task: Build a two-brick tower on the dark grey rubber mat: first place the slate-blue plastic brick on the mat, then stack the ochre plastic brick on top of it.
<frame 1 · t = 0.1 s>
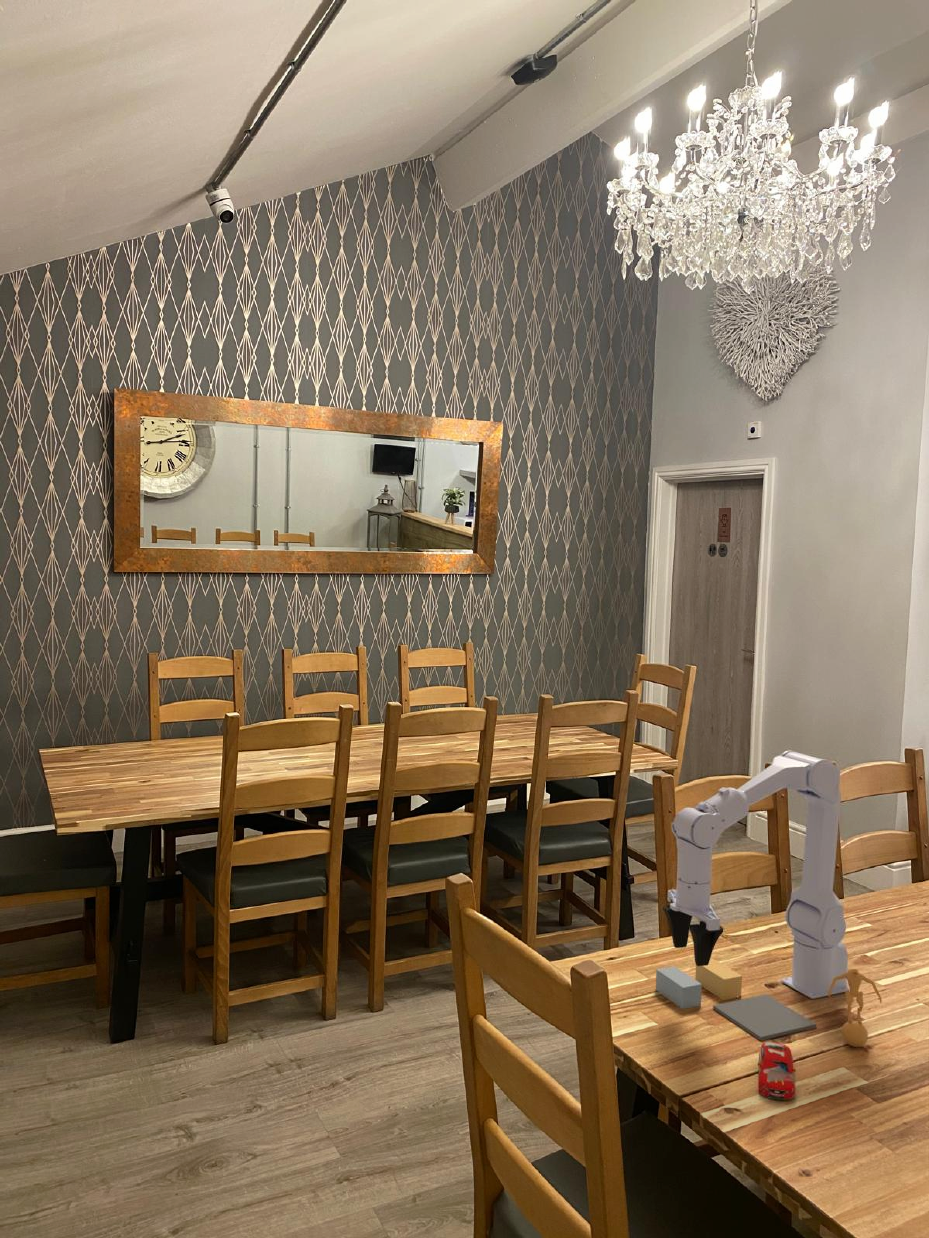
hand: (690, 955, 164), 10 cm above the table, tool pointing down, fingers open, 7 cm apart
figurine: (852, 1043, 156), on the table
race car: (775, 1081, 144), on the table
slate brick: (677, 998, 171), on the table
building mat: (763, 1017, 163), on the table
ochre brick: (717, 989, 174), on the table
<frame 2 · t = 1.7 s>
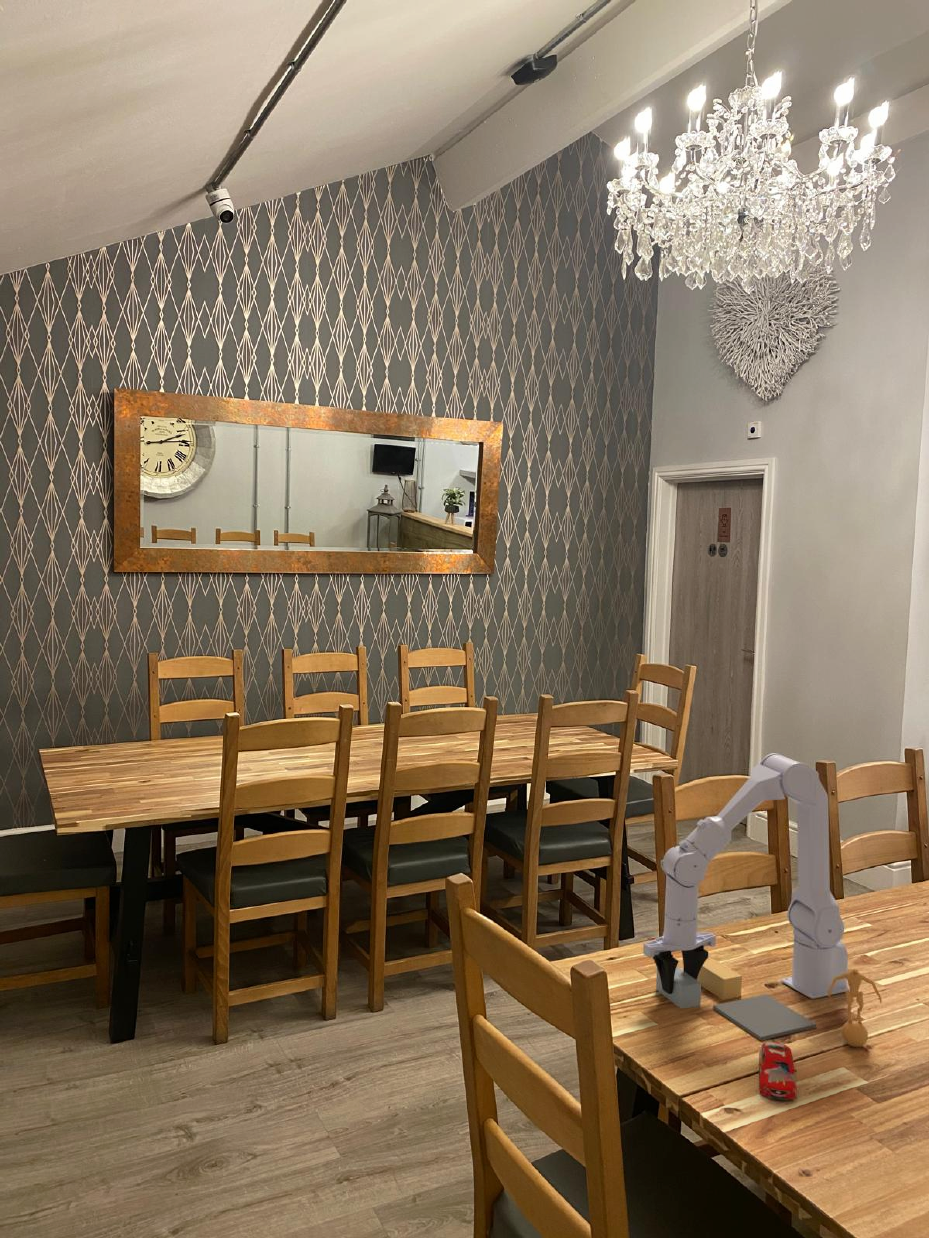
hand: (678, 989, 170), 1 cm above the table, tool pointing down, fingers closed on slate brick, 4 cm apart
slate brick: (677, 997, 170), on the table, touching gripper
everything else where it was.
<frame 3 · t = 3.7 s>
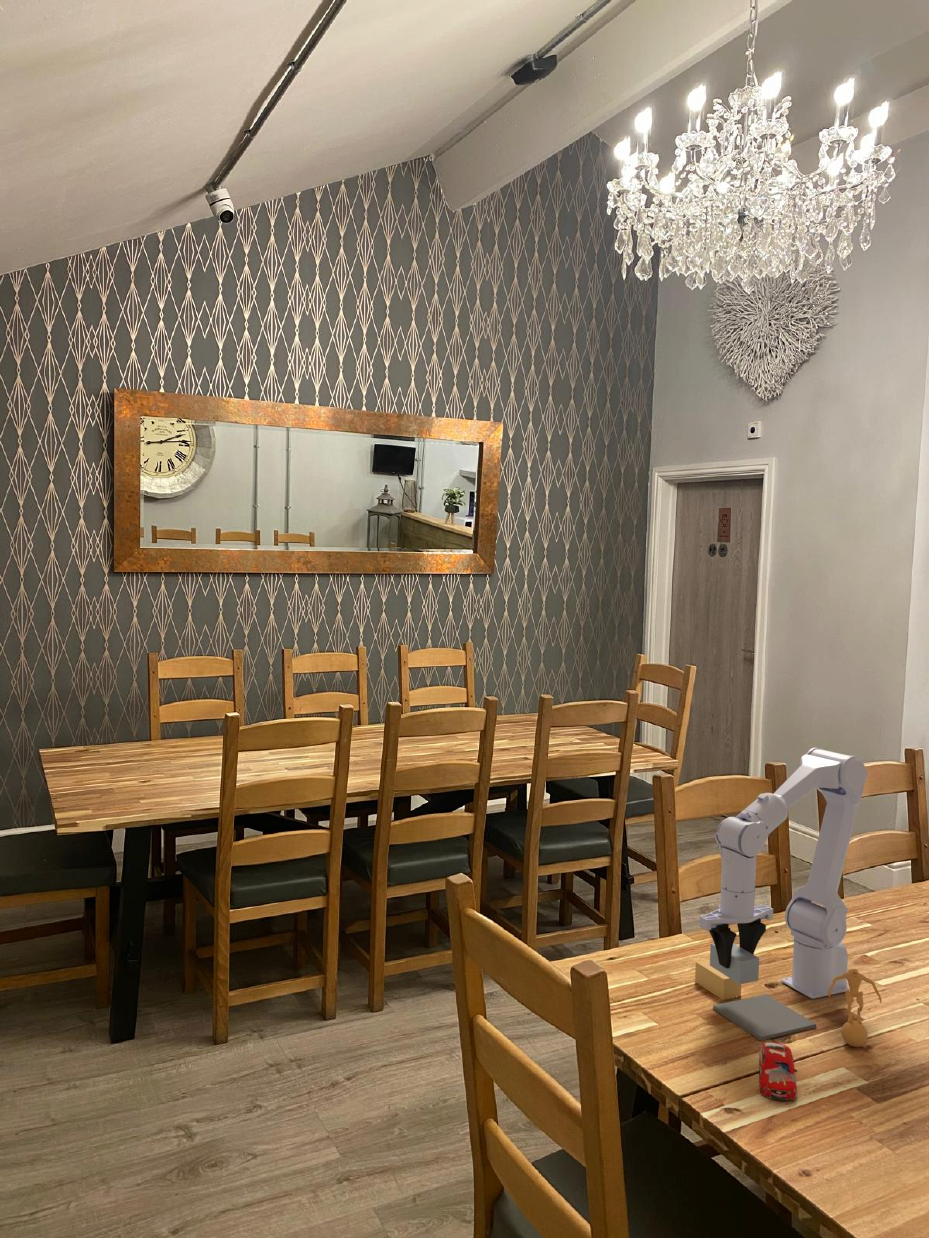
hand: (735, 963, 165), 8 cm above the table, tool pointing down, fingers closed on slate brick, 4 cm apart
slate brick: (733, 972, 166), point 7 cm above the table, touching gripper
everything else where it was.
when the fingers open (3 cm above the table, at t = 5.5 s): slate brick stays where it is, resting on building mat.
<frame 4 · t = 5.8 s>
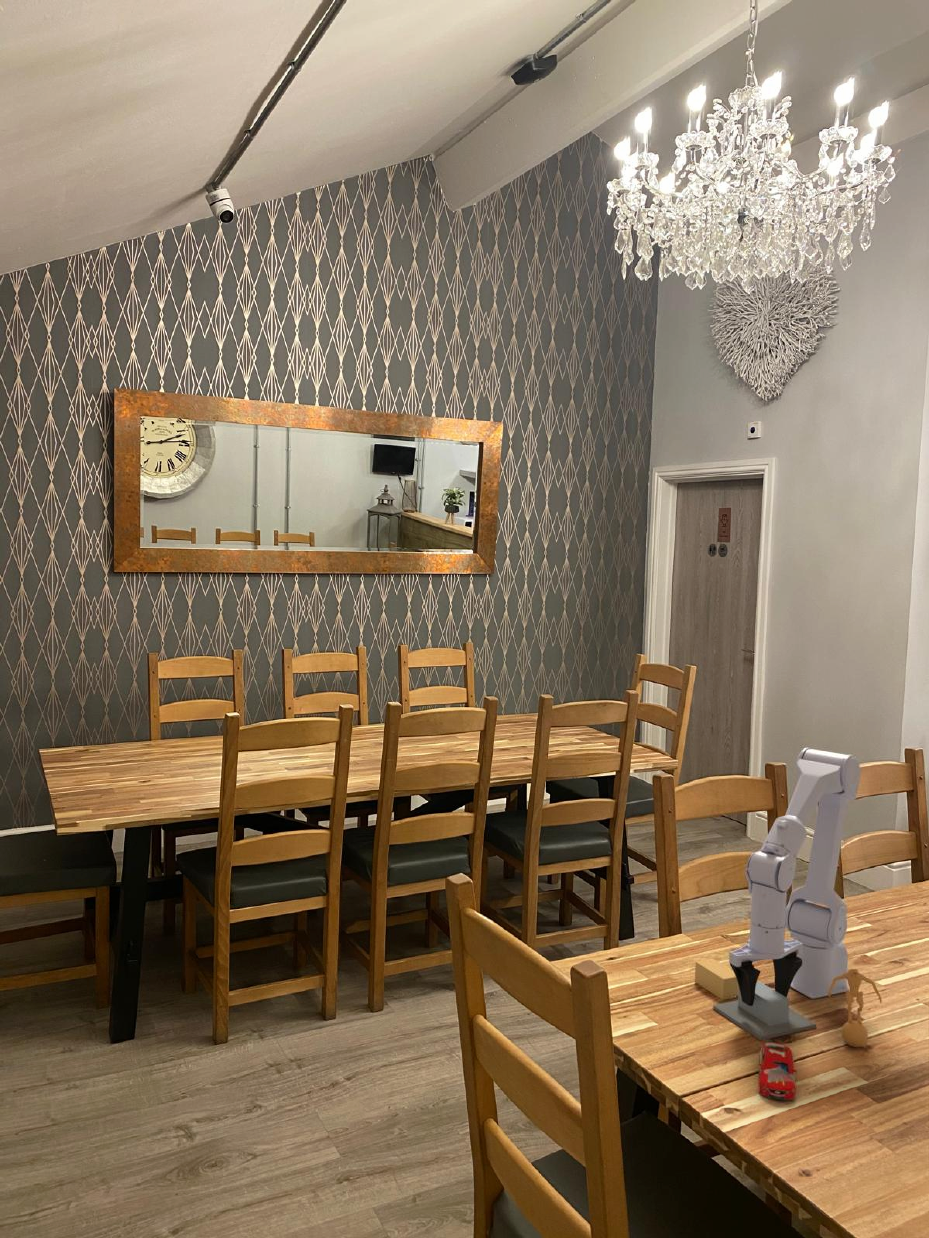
hand: (764, 999, 163), 3 cm above the table, tool pointing down, fingers open, 7 cm apart
slate brick: (762, 1013, 164), point 1 cm above the table, touching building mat
everything else where it was.
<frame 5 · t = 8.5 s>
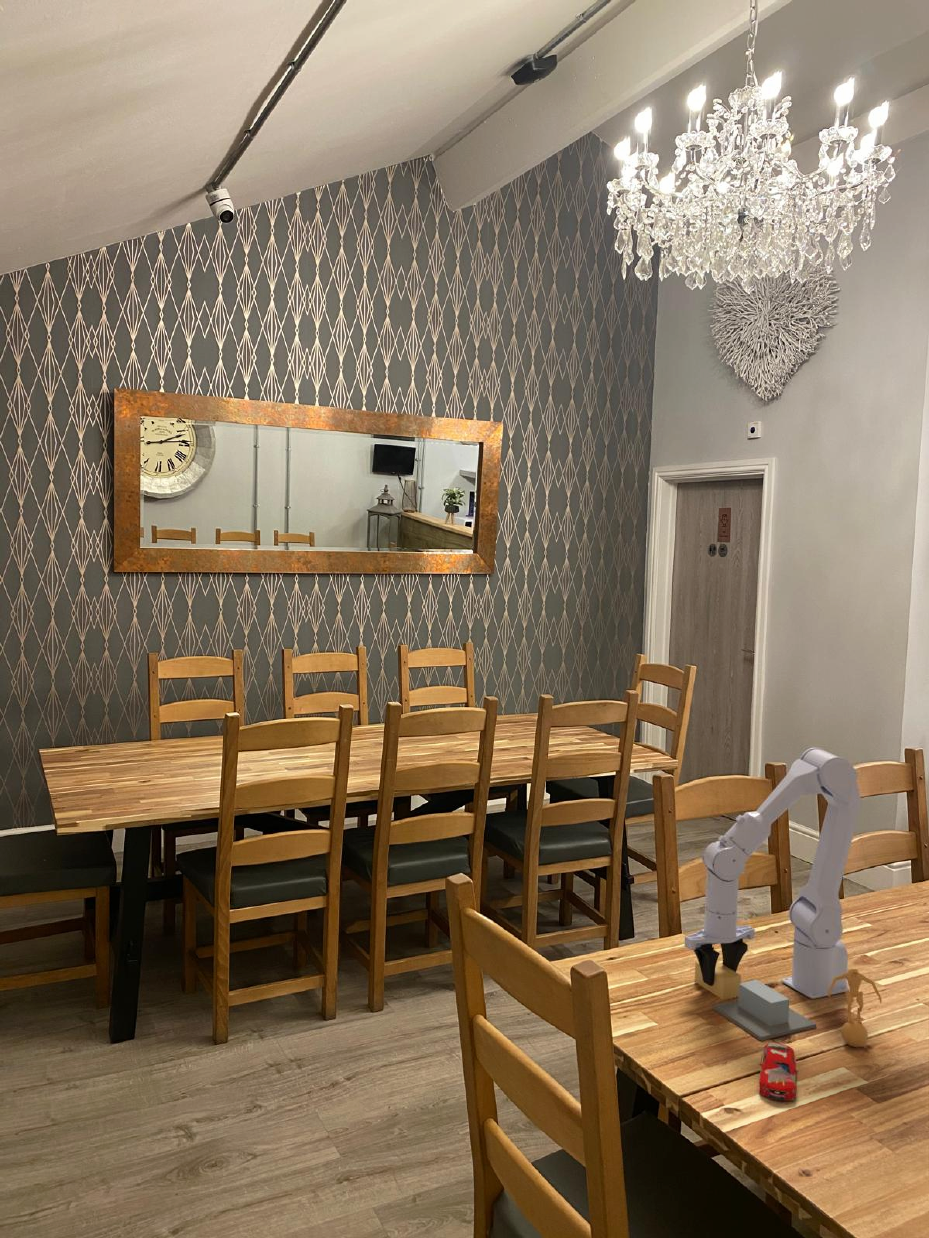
hand: (718, 981, 174), 1 cm above the table, tool pointing down, fingers closed on ochre brick, 4 cm apart
ochre brick: (717, 989, 174), on the table, touching gripper
everything else where it was.
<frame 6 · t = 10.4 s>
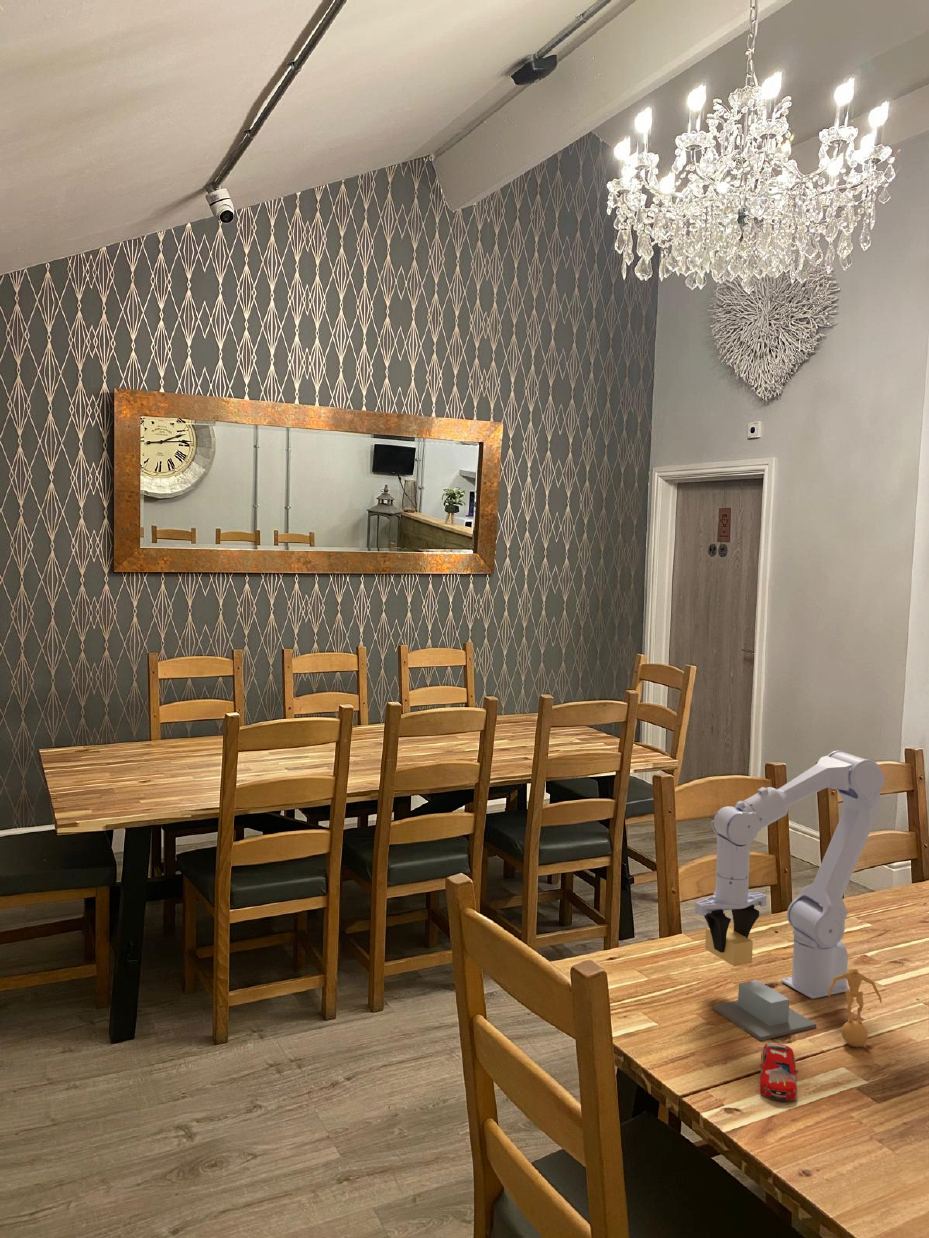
hand: (729, 948, 171), 9 cm above the table, tool pointing down, fingers closed on ochre brick, 4 cm apart
ochre brick: (728, 955, 172), point 7 cm above the table, touching gripper
everything else where it was.
when the fingers open (7 cm above the table, at t = 12.0 s): ochre brick stays where it is, resting on slate brick.
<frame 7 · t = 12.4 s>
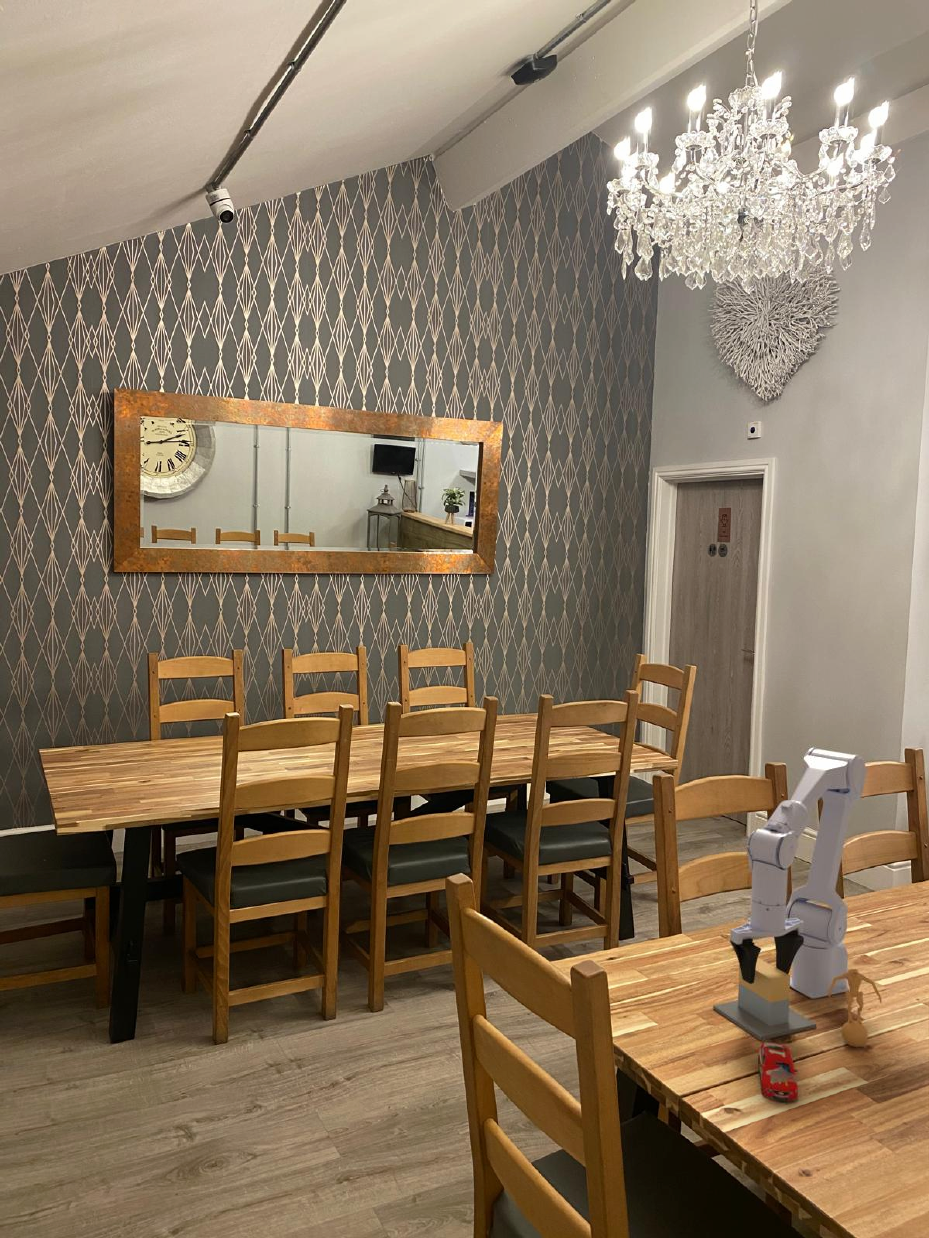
hand: (765, 977, 163), 7 cm above the table, tool pointing down, fingers open, 7 cm apart
slate brick: (762, 1013, 164), point 1 cm above the table, touching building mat, ochre brick
ochre brick: (763, 990, 163), point 5 cm above the table, touching slate brick
everything else where it was.
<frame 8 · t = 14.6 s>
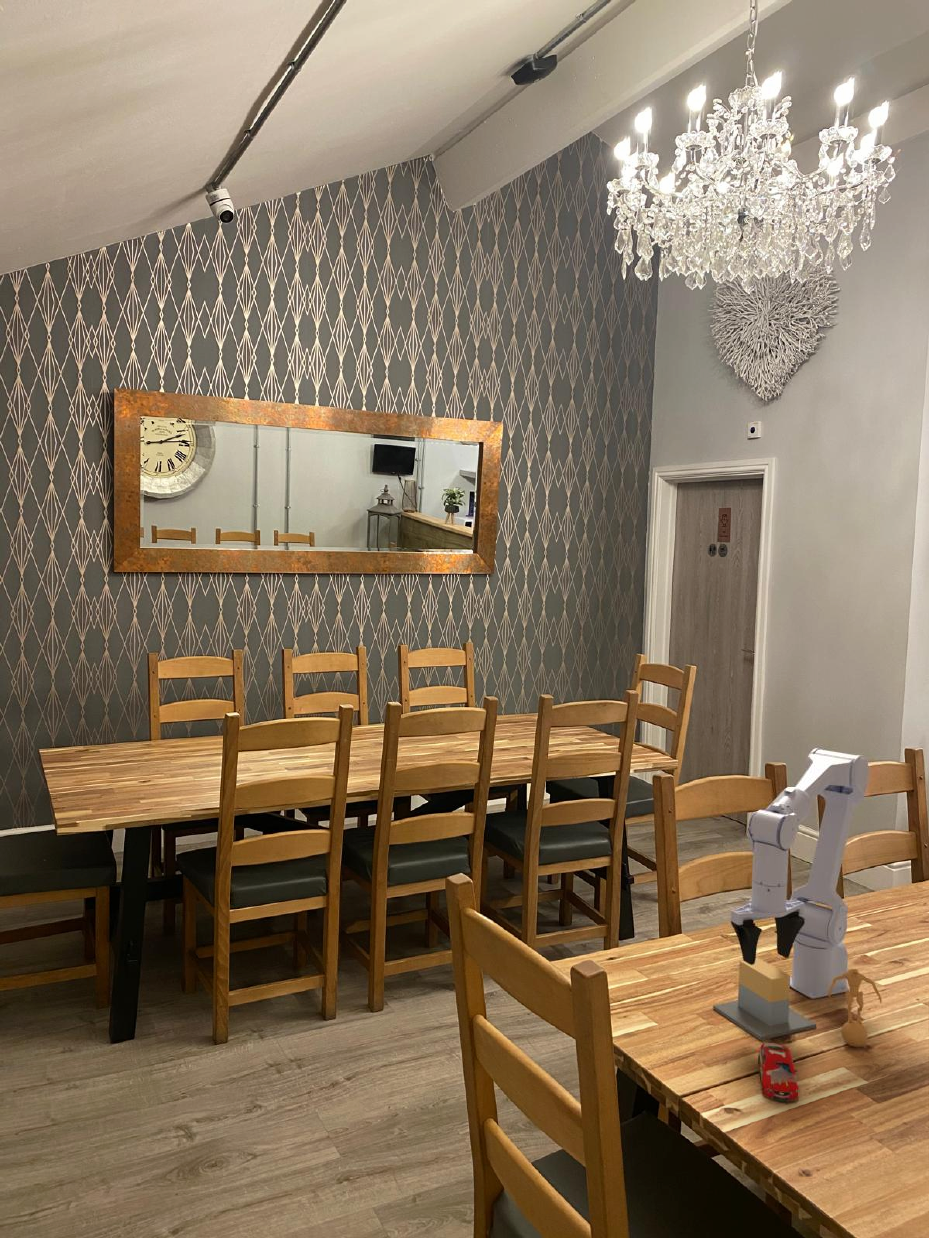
hand: (766, 958, 163), 10 cm above the table, tool pointing down, fingers open, 7 cm apart
nothing on the table moved.
at the end: slate brick 0.3 cm off-centre on the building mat, point 0.6 cm above the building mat's base; ochre brick 0.1 cm off-centre on the slate brick, point 4.0 cm above the slate brick's base; ochre brick tilted 0° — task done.
